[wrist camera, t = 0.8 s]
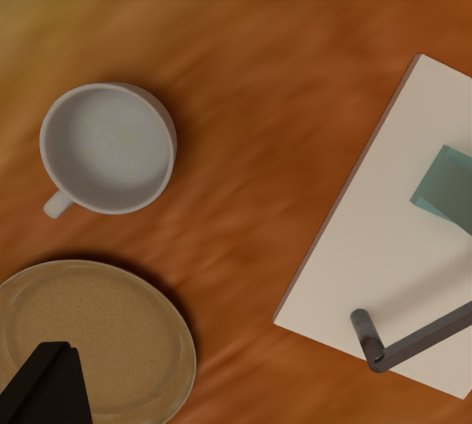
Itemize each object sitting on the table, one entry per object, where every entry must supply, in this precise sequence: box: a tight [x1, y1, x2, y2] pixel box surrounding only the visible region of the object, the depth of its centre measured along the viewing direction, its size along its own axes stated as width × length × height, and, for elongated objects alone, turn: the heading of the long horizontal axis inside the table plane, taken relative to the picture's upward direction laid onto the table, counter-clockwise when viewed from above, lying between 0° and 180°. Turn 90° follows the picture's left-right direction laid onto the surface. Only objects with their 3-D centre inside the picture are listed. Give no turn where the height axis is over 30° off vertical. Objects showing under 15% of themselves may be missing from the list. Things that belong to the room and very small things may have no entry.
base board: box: [273, 54, 472, 399], centre depth 44 cm, size 30×24×2 cm
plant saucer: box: [0, 259, 196, 424], centre depth 49 cm, size 24×24×3 cm
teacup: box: [40, 82, 177, 219], centre depth 39 cm, size 14×11×8 cm
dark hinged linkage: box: [350, 301, 472, 373], centre depth 40 cm, size 25×5×8 cm, turn 141°
